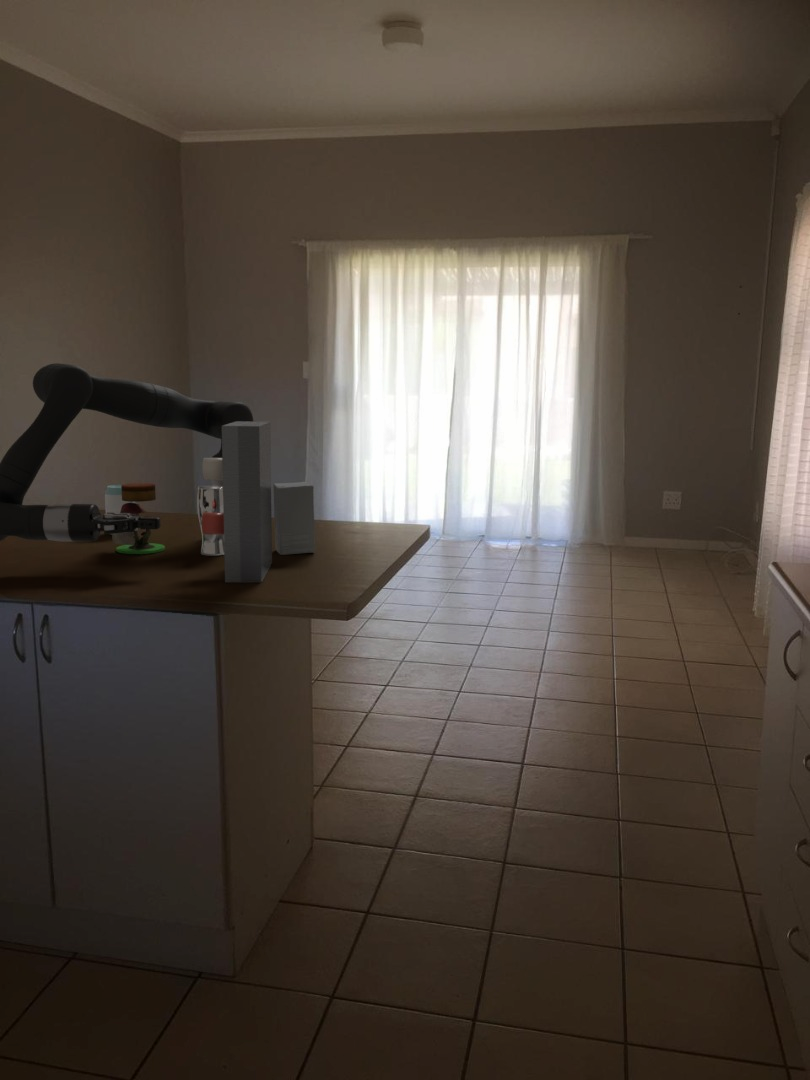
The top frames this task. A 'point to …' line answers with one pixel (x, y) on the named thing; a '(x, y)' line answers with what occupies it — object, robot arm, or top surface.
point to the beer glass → (210, 503)
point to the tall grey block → (247, 500)
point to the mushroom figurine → (136, 494)
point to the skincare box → (294, 518)
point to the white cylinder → (212, 469)
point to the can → (114, 499)
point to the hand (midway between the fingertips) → (159, 523)
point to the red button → (213, 523)
